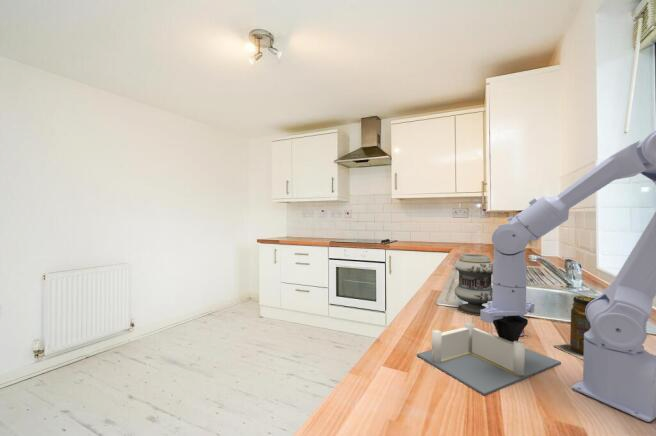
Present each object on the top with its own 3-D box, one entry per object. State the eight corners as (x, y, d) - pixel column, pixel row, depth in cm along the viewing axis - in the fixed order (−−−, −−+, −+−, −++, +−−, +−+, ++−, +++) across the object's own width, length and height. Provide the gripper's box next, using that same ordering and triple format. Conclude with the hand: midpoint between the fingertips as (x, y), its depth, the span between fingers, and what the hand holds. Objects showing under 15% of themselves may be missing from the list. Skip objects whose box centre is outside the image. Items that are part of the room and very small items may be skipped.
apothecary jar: (468, 303, 102) (469, 251, 102) (503, 312, 92) (504, 255, 92) (446, 308, 96) (447, 253, 96) (482, 319, 85) (483, 258, 85)
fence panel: (471, 352, 62) (471, 326, 62) (476, 350, 63) (477, 325, 63) (520, 376, 53) (521, 345, 53) (526, 373, 54) (527, 343, 54)
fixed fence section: (468, 348, 65) (468, 321, 65) (475, 351, 64) (475, 324, 64) (429, 359, 60) (430, 330, 60) (436, 363, 58) (437, 333, 58)
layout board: (560, 363, 60) (561, 361, 60) (484, 395, 48) (484, 392, 48) (489, 335, 73) (489, 333, 73) (416, 355, 62) (416, 353, 62)
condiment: (617, 358, 63) (618, 302, 62) (587, 362, 61) (588, 304, 61) (581, 343, 70) (582, 293, 70) (552, 346, 68) (553, 295, 68)
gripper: (510, 277, 65) (509, 338, 65) (466, 283, 58) (465, 351, 58) (546, 284, 58) (544, 351, 59) (501, 291, 52) (500, 367, 52)
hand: (507, 352), depth 58 cm, fingers closed
